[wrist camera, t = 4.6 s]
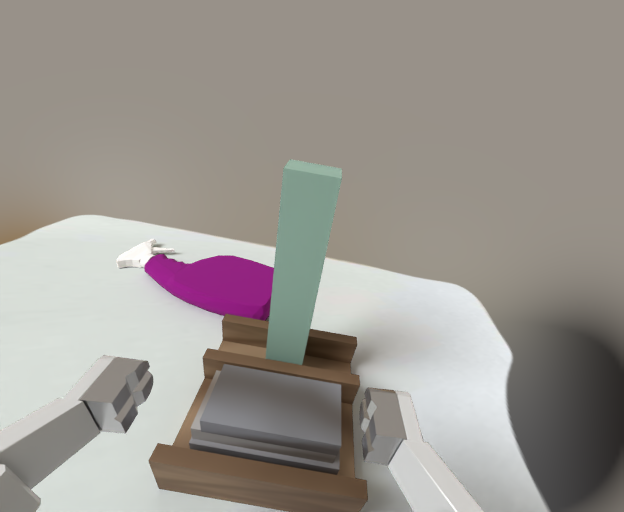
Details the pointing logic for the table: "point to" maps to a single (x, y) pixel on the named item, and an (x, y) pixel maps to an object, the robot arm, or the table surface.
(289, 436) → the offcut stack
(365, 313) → the table surface
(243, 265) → the spray bottle
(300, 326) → the tall board
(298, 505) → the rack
